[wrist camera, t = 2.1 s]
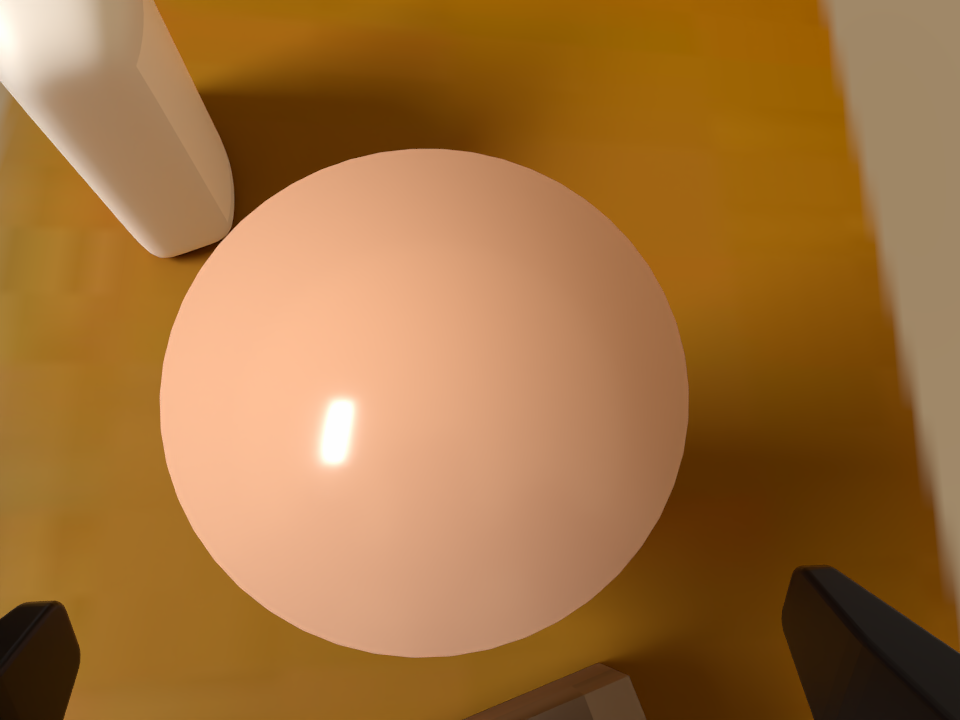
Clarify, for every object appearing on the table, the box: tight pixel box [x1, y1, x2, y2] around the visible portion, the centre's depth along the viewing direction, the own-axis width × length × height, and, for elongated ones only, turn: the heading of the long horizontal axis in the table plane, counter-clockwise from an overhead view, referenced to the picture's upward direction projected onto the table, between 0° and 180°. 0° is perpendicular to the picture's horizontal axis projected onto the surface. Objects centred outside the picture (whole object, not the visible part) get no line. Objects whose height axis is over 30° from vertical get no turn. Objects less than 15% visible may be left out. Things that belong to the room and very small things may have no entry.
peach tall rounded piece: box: [160, 149, 689, 658], centre depth 12 cm, size 4×4×13 cm
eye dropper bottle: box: [0, 0, 234, 258], centre depth 15 cm, size 4×6×12 cm
